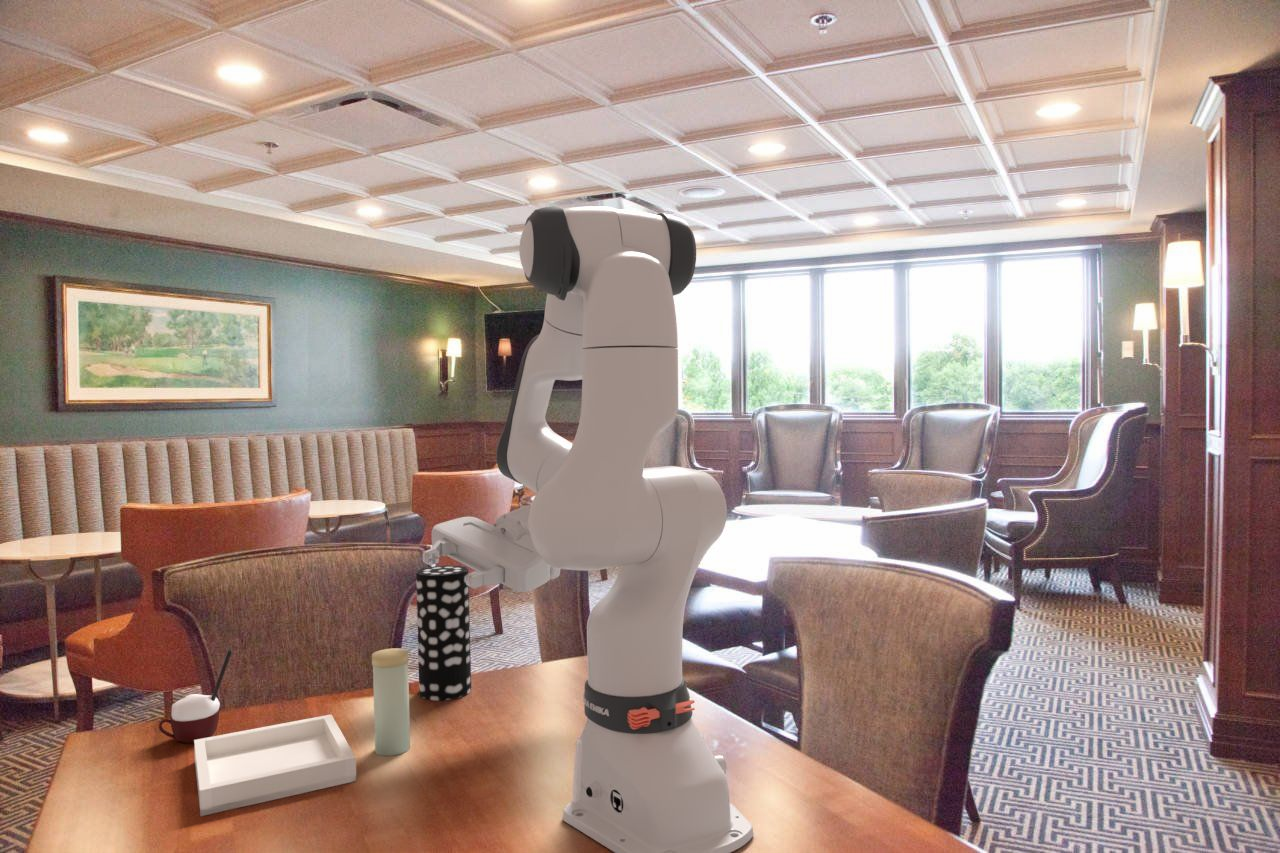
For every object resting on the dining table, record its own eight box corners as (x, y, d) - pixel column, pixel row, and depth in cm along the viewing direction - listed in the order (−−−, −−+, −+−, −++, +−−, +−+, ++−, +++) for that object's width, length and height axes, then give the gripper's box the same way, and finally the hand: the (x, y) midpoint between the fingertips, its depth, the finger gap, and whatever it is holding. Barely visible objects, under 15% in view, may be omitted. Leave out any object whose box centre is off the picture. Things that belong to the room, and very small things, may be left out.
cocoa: (155, 750, 119) (146, 666, 118) (178, 731, 125) (169, 651, 124) (224, 745, 119) (216, 661, 118) (243, 726, 125) (236, 646, 124)
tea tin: (414, 751, 116) (412, 654, 115) (378, 759, 113) (376, 660, 113) (406, 739, 120) (403, 646, 119) (371, 746, 117) (368, 651, 117)
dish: (356, 780, 107) (355, 757, 107) (200, 816, 98) (199, 790, 98) (331, 735, 122) (331, 714, 122) (194, 762, 113) (194, 739, 113)
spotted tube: (458, 702, 135) (455, 576, 134) (410, 699, 136) (406, 574, 136) (479, 684, 143) (476, 566, 142) (432, 682, 144) (429, 565, 144)
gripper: (474, 500, 134) (400, 526, 124) (568, 541, 122) (495, 575, 112) (474, 536, 136) (401, 565, 126) (567, 580, 124) (495, 617, 114)
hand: (446, 570), depth 118 cm, fingers open, 8 cm apart
